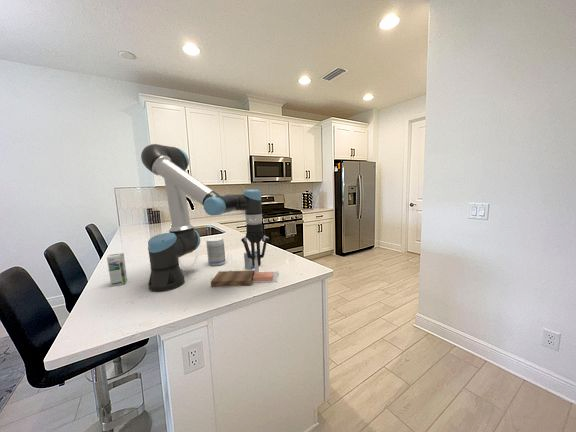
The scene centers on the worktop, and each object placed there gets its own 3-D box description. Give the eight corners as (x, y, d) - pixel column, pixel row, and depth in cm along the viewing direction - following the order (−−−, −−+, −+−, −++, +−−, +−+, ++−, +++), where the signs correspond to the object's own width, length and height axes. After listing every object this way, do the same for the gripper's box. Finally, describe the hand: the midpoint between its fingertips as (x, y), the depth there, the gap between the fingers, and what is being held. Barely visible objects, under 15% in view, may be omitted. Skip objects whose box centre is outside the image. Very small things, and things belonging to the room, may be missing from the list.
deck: (211, 286, 106) (210, 281, 105) (219, 276, 118) (218, 271, 117) (250, 285, 105) (250, 280, 105) (254, 275, 117) (254, 270, 117)
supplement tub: (228, 263, 136) (226, 238, 134) (213, 267, 130) (211, 242, 128) (220, 259, 143) (218, 236, 141) (205, 263, 137) (203, 239, 134)
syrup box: (110, 287, 110) (106, 257, 107) (113, 282, 115) (109, 253, 113) (125, 284, 112) (121, 255, 110) (127, 279, 117) (123, 251, 115)
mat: (253, 282, 108) (253, 282, 108) (256, 272, 120) (256, 272, 120) (276, 282, 108) (276, 281, 108) (278, 272, 120) (278, 271, 120)
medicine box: (250, 269, 125) (249, 254, 123) (244, 268, 127) (243, 252, 126) (260, 265, 131) (259, 250, 130) (255, 263, 134) (254, 249, 132)
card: (253, 281, 109) (253, 277, 109) (255, 276, 115) (255, 272, 115) (272, 280, 109) (272, 276, 109) (273, 275, 115) (273, 271, 115)
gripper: (238, 225, 105) (241, 275, 108) (267, 224, 104) (270, 274, 108) (241, 222, 112) (244, 269, 116) (269, 221, 112) (271, 268, 115)
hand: (257, 271), depth 112 cm, fingers closed
